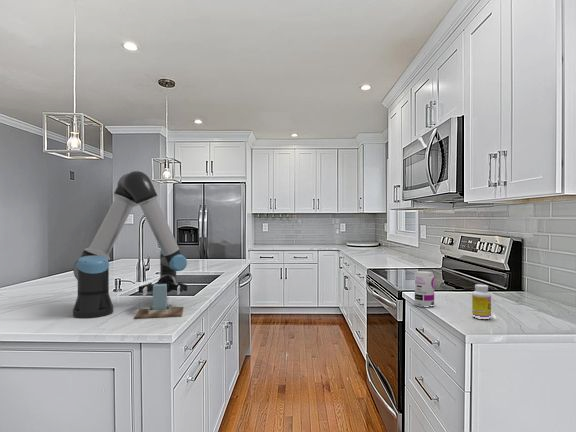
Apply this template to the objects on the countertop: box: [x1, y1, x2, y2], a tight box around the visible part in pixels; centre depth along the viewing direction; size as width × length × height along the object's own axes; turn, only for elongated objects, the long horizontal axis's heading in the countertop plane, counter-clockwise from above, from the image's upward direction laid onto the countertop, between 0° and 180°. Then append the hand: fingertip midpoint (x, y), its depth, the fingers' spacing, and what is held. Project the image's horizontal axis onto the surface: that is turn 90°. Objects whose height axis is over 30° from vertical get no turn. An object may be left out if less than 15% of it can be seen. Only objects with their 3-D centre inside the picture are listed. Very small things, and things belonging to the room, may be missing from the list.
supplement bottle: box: [471, 283, 492, 317], centre depth 158 cm, size 7×7×13 cm
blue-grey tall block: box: [152, 283, 168, 310], centre depth 167 cm, size 5×5×11 cm
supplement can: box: [414, 270, 435, 308], centre depth 180 cm, size 8×8×15 cm
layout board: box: [133, 304, 184, 320], centre depth 167 cm, size 18×14×2 cm
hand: (161, 292), depth 167 cm, fingers open, 13 cm apart
